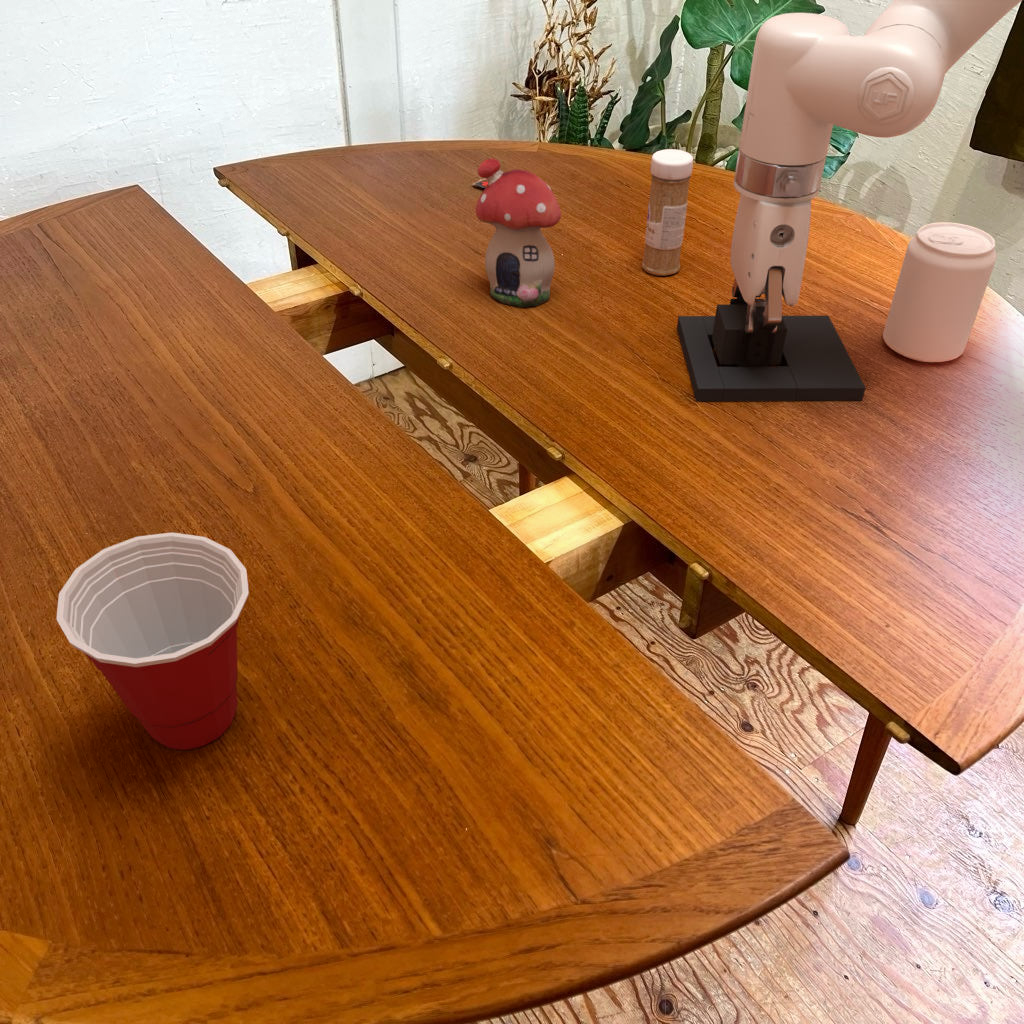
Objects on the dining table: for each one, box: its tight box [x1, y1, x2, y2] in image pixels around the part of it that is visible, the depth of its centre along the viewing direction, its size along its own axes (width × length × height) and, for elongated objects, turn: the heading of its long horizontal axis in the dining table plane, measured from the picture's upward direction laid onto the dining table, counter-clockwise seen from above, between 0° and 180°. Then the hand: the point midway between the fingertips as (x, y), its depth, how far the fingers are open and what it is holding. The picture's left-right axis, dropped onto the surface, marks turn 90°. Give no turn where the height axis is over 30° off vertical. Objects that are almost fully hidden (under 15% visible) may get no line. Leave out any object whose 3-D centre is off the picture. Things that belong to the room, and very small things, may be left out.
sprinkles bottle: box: [641, 148, 694, 277], centre depth 109 cm, size 5×5×13 cm
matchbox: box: [470, 178, 488, 189], centre depth 132 cm, size 5×5×1 cm
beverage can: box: [882, 221, 997, 363], centre depth 96 cm, size 8×8×12 cm
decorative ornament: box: [475, 157, 562, 308], centre depth 104 cm, size 9×7×15 cm
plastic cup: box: [56, 532, 250, 751], centre depth 60 cm, size 11×11×12 cm
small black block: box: [712, 303, 787, 366], centre depth 96 cm, size 6×5×4 cm
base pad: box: [676, 315, 866, 402], centre depth 97 cm, size 16×14×2 cm
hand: (746, 348), depth 97 cm, fingers closed on small black block, 5 cm apart
